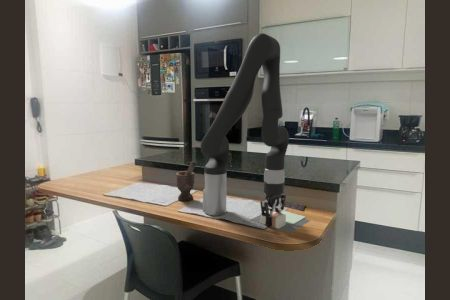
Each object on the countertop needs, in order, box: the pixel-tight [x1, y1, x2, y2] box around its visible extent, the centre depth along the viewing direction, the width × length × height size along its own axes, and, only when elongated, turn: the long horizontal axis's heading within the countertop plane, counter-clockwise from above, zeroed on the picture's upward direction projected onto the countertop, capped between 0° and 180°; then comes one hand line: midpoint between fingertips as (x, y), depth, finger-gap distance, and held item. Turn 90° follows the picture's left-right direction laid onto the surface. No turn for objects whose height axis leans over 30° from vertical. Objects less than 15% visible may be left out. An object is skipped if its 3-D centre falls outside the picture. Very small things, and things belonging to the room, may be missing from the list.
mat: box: [249, 210, 311, 234], centre depth 118 cm, size 18×18×1 cm
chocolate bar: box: [284, 201, 306, 212], centre depth 130 cm, size 9×1×18 cm
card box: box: [259, 210, 286, 230], centre depth 114 cm, size 8×5×4 cm, turn 48°
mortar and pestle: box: [175, 160, 197, 202], centre depth 143 cm, size 12×9×20 cm
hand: (272, 223), depth 114 cm, fingers closed on card box, 5 cm apart
